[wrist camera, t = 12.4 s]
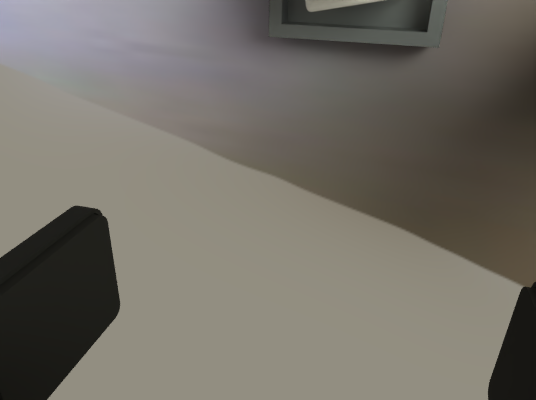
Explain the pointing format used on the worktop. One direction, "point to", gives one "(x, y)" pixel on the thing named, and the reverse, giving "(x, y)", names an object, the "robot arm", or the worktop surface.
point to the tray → (362, 22)
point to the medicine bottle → (333, 4)
